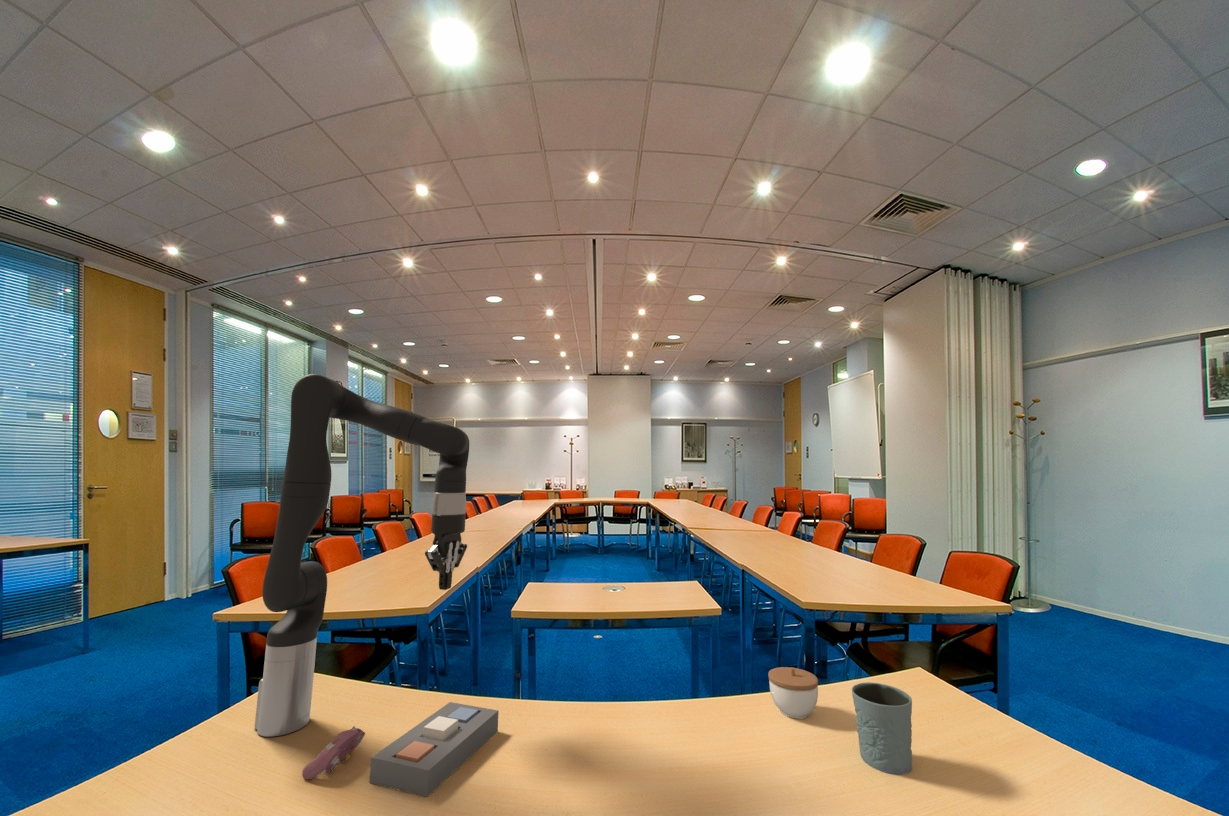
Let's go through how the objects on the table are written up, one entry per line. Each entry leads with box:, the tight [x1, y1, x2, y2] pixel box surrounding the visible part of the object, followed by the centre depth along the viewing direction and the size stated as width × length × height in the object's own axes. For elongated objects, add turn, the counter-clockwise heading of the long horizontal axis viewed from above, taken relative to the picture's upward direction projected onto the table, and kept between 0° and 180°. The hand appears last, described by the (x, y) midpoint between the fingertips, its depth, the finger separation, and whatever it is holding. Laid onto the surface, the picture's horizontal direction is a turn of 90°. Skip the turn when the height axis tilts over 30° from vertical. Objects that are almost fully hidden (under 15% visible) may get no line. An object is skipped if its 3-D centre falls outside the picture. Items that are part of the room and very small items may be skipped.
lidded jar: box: [768, 666, 819, 719], centre depth 110 cm, size 11×11×9 cm
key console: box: [369, 701, 499, 798], centre depth 92 cm, size 12×22×4 cm, turn 162°
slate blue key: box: [447, 707, 478, 723], centre depth 99 cm, size 4×4×2 cm
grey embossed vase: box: [851, 681, 913, 775], centre depth 91 cm, size 10×10×12 cm
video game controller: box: [301, 725, 366, 780], centre depth 88 cm, size 10×5×7 cm, turn 169°
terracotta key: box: [396, 741, 434, 763], centre depth 86 cm, size 4×4×2 cm
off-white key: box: [423, 716, 458, 742], centre depth 92 cm, size 4×4×2 cm
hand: (444, 588), depth 110 cm, fingers closed
